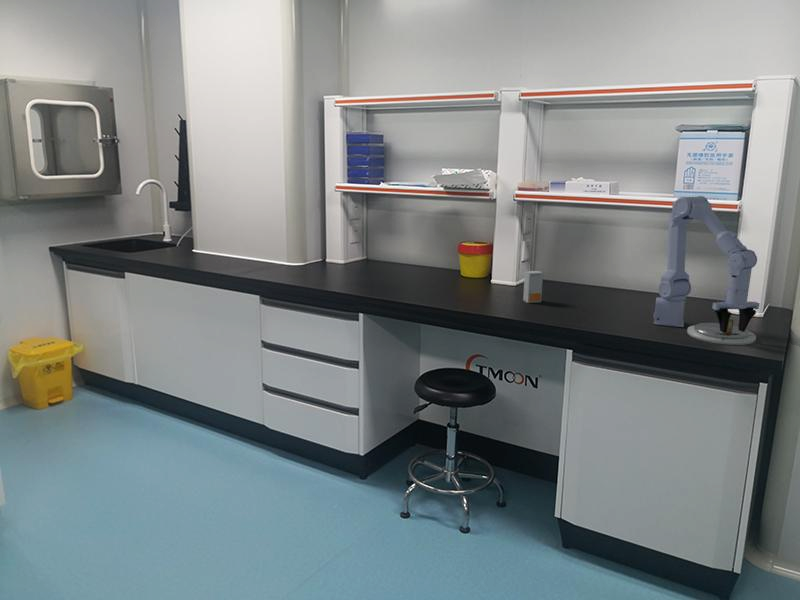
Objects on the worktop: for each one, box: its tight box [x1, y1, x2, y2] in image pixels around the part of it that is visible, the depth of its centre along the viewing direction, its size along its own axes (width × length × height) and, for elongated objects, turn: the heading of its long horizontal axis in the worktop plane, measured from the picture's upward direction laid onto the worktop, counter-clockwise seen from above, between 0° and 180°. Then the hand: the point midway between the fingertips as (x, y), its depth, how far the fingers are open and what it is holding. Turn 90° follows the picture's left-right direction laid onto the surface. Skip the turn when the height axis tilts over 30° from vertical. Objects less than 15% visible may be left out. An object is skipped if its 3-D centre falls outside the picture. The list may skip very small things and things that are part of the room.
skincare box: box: [522, 270, 544, 304], centre depth 254 cm, size 6×4×12 cm
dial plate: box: [686, 324, 757, 346], centre depth 209 cm, size 20×20×1 cm
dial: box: [694, 317, 749, 339], centre depth 208 cm, size 16×16×6 cm
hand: (732, 331), depth 203 cm, fingers open, 6 cm apart
